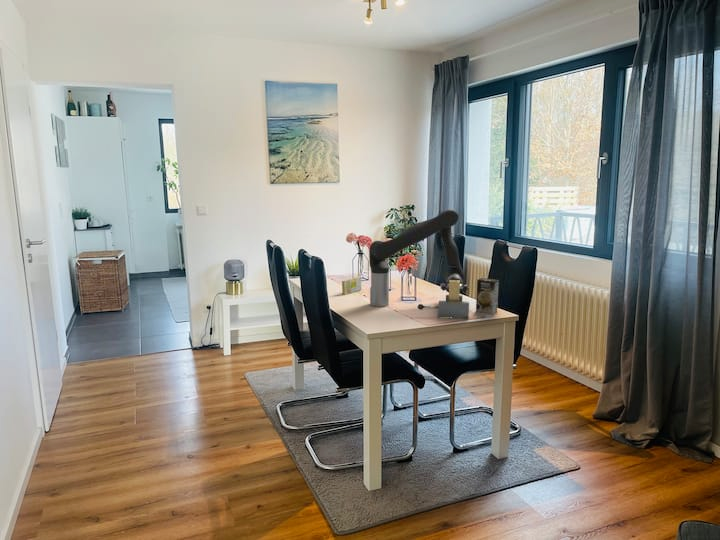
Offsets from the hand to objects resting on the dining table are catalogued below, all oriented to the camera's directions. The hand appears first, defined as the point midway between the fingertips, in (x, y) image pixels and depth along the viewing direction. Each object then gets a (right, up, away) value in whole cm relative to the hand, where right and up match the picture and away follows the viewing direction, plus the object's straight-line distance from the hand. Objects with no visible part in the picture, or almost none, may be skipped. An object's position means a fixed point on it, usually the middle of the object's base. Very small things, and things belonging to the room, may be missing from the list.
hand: (454, 290), depth 255 cm
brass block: (0, -10, +5) cm, 11 cm away
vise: (-4, -12, +6) cm, 14 cm away
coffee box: (+18, -11, +11) cm, 24 cm away
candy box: (-49, -4, +56) cm, 74 cm away
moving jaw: (+2, -11, +12) cm, 16 cm away
